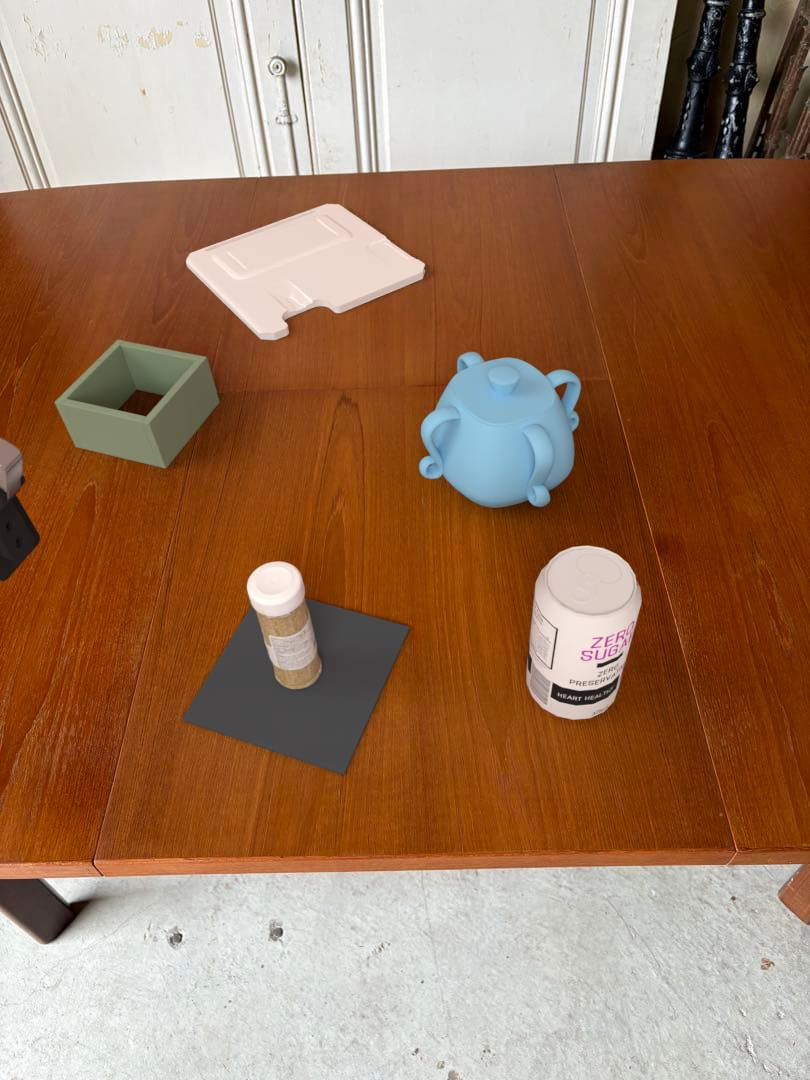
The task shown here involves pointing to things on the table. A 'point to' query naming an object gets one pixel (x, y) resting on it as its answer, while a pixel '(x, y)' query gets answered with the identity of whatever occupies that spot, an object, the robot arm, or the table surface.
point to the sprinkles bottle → (285, 623)
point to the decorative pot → (502, 431)
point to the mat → (309, 713)
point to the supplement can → (581, 631)
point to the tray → (303, 268)
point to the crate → (116, 379)
